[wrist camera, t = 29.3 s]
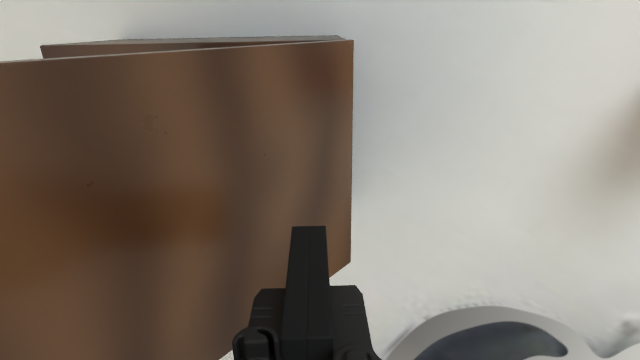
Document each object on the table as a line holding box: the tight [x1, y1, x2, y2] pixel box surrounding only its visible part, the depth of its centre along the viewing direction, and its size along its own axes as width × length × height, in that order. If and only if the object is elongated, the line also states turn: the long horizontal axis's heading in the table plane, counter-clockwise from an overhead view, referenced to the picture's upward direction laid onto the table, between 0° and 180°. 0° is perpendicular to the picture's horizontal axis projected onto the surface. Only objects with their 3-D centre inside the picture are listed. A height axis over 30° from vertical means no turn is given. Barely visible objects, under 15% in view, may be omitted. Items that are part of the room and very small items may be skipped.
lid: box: [0, 40, 354, 360], centre depth 18 cm, size 18×15×1 cm
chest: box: [40, 35, 346, 59], centre depth 29 cm, size 18×15×10 cm
